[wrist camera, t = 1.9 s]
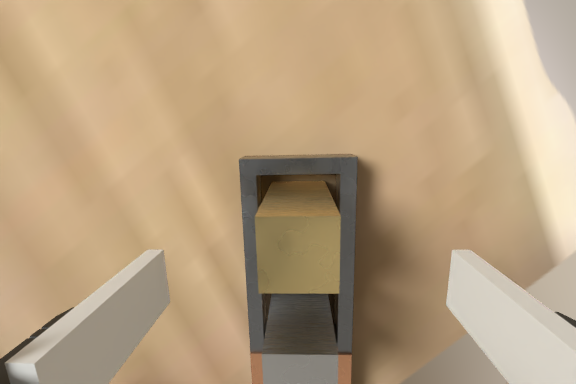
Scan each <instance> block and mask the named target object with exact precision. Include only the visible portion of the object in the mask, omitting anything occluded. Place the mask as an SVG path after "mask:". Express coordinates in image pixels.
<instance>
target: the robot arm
mask: <svg viewBox="0 0 576 384" xmlns="http://www.w3.org/2000/svg"><path fill="white" fill-rule="evenodd" d="M169 303H170V297H169V289H168V281H167V274H166V266H165V258H164V250H147V251H145V252H144V253H143V254H141V255H140V256H139V257H138V258H136V259H135V260H134V261H133V262H131V263H130V264H129V265H128V266H126V267H125V268H124V269H123V270H121V271H120V272H119V273H117V274H116V275H115V276H114V277H112V278H111V279H110V280H109V281H107V282H106V283H105V284H104V285H102V286H101V287H100V288H99V289H97V290H96V291H95V292H94V293H92V294H91V295H90V296H88V297H87V298H86V299H85V300H83V301H82V302H81V303H80V304H78V305H77V306H76V307H73V308H71V309H69V310H67V311H65V312H63V313H61V314H60V315H58V316H56V317H55V318H53V319H52V320H51V321H49V322H48V323H47V324H45V325H44V326H43V327H42V329H39V330H38V331H36V332H35V333H34V334H32V335H31V336H30V338H29V339H26V340H25V341H23V342H22V343H21V344H19V345H18V346H17V347H15V348H14V349H13V350H12V351H10V352H9V353H8V354H6V355H5V356H4V357H2V358H1V359H0V384H108V383H109V382H110V381H111V380H112V378H113V377H114V376H115V374H116V373H117V372H118V370H119V369H120V368H121V366H122V365H123V364H124V362H125V361H126V360H127V358H128V357H129V356H130V354H131V353H132V352H133V350H134V349H135V348H136V347H137V345H138V344H139V343H140V341H141V340H142V339H143V337H144V336H145V335H146V333H147V332H148V331H149V329H150V328H151V327H152V325H153V324H154V323H155V321H156V320H157V319H158V317H159V316H160V315H161V314H162V312H163V311H164V310H165V308H166V307H167V306H168V304H169ZM446 306H447V307H448V308H449V309H450V311H451V312H452V313H453V314H454V316H455V317H456V318H457V319H458V321H459V322H460V323H461V324H462V326H463V327H464V328H465V329H466V331H467V332H468V333H469V334H470V335H471V337H472V338H473V339H474V340H475V342H476V343H477V344H478V346H479V347H480V348H481V349H482V350H483V352H484V353H485V354H486V356H487V357H488V358H489V359H490V361H491V362H492V363H493V364H494V366H495V367H496V368H497V369H498V371H499V372H500V373H501V374H502V376H503V377H504V378H505V379H506V381H507V382H508V383H509V384H576V321H575V320H573V319H571V318H569V317H567V316H565V315H563V314H561V313H559V312H553V311H552V310H550V309H549V308H548V307H547V306H545V305H544V304H543V303H541V302H540V301H538V300H537V299H536V298H535V297H533V296H532V295H530V294H529V293H528V292H527V291H525V290H524V289H522V288H521V287H520V286H518V285H517V284H516V283H514V282H513V281H512V280H510V279H509V278H508V277H506V276H505V275H504V274H502V273H501V272H500V271H498V270H497V269H495V268H494V267H493V266H491V265H490V264H489V263H487V262H486V261H485V260H483V259H482V258H481V257H479V256H478V255H477V254H475V253H474V252H473V251H471V250H452V256H451V265H450V274H449V283H448V292H447V301H446Z"/></svg>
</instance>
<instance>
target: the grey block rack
mask: <svg viewBox="0 0 576 384" xmlns="http://www.w3.org/2000/svg"><path fill="white" fill-rule="evenodd" d="M357 158H358V157H356V156H354V155H352V154H330V155H279V156H244V157H242V158H240V159H239V169H240V185H241V202H242V219H243V235H244V252H245V269H246V285H247V302H248V319H249V335H250V352H251V354H250V355H251V372H252V384H263V369H262V350H263V344H264V338H265V332H266V326H267V312H266V293H259V292H258V272H257V252H256V233H255V215H256V213H257V211H258V209H259V207H260V205H261V203H262V199H261V176H260V175H297V174H336V207H337V209H338V211H339V213H340V215H341V229H340V285H339V294H335V309H334V324H333V327H334V332H335V338H336V344H337V350H338V384H351V366H352V326H353V293H354V259H355V225H356V192H357Z"/></svg>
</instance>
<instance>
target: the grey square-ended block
mask: <svg viewBox="0 0 576 384" xmlns="http://www.w3.org/2000/svg"><path fill="white" fill-rule="evenodd" d="M262 369H263V384H338V350H337V344H336V338H335V332H334V327H333V321H332V315H331V309H330V303H329V297H328V294H280V293H272V295H271V301H270V308H269V314H268V320H267V326H266V332H265V338H264V344H263V350H262Z"/></svg>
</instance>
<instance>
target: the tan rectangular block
mask: <svg viewBox="0 0 576 384" xmlns="http://www.w3.org/2000/svg"><path fill="white" fill-rule="evenodd" d="M340 229H341V215H340V213H339V211H338V209H337V207H336V205H335V202H334V200H333V198H332V196H331V194H330V192H329V189H328V187H327V185H326V183H325V181H284V182H272V183H271V185H270V187H269V189H268V191H267V193H266V195H265V197H264V199H263V201H262V203H261V205H260V207H259V209H258V211H257V213H256V215H255V233H256V252H257V272H258V292H259V293H280V294H339V285H340Z"/></svg>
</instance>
